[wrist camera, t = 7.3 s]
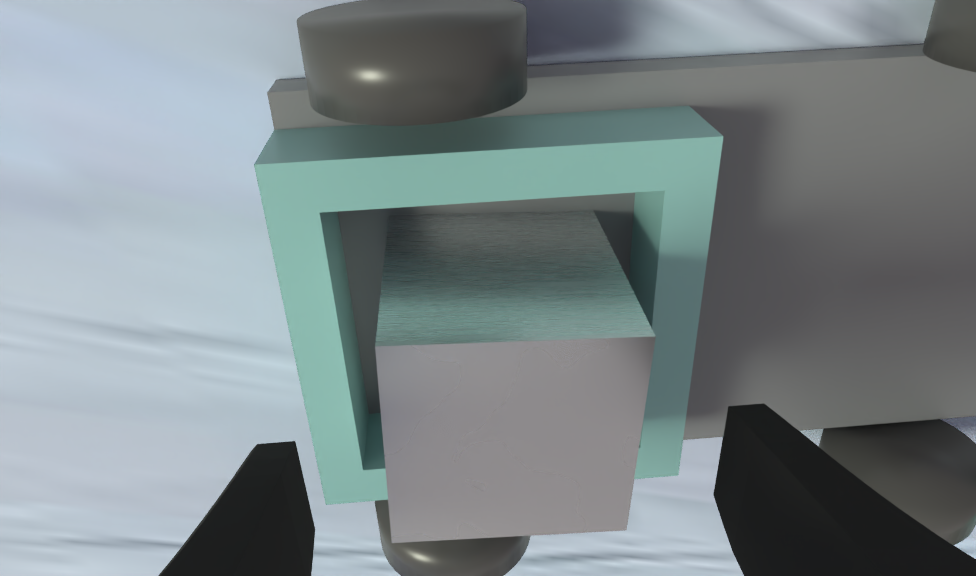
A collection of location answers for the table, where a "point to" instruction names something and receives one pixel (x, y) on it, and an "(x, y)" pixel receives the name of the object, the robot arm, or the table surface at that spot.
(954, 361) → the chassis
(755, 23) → the table surface
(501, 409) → the block
